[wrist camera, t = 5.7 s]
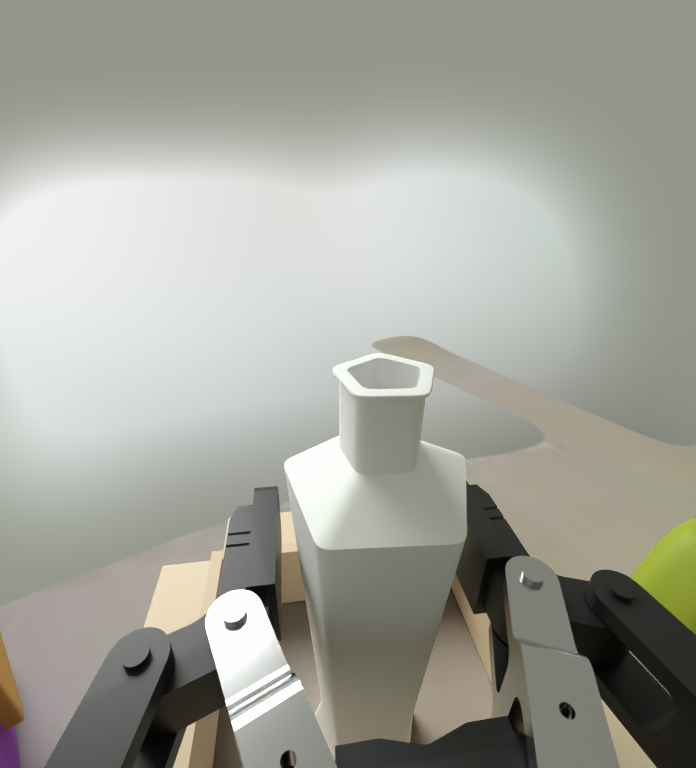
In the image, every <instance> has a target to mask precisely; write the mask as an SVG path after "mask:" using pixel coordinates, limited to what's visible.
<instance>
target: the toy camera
mask: <svg viewBox="0 0 696 768" xmlns="http://www.w3.org/2000/svg"><path fill="white" fill-rule="evenodd" d="M23 719H24V714H23V710H22V706H21V702H20V699H19V695H18V692H17V688H16V685H15V681H14V678H13V674H12V671H11V667H10V664H9V660H8V657H7V654H6V650H5V647H4V643H3V640H2V636H1V633H0V768H20V760H19V753H18V746H17V738H16V731H15V725H16V724H18V723H19V722H21V721H22V720H23Z"/></svg>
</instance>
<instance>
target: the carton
mask: <svg viewBox="0 0 696 768" xmlns="http://www.w3.org/2000/svg"><path fill="white" fill-rule="evenodd" d="M280 517H281V534H282V574H281V603H289V602H297V601H305V594H304V587H303V581H302V575H301V568H300V562H299V556H298V549H297V543H296V537H295V531H294V524H293V518H292V512H282V513H280ZM230 518H231V517H230ZM230 518H229V519H228V525H227V532H226V538H225V544H224V550H222V551H212V555H211V560H210V561H204V562H195V563H185V564H176V565H167V566H163V567H162V570H161V573H160V576H159V580H158V583H157V586H156V589H155V592H154V596H153V599H152V602H151V605H150V608H149V612H148V615H147V618H146V621H145V624H144V628H146V627H154V628H158V629H161V630H162V631H164V632H165V633H166V634H170V633H172V632H174V631H176V630H179V629H181V628H183V627H185V626H188V625H190V624H192V623H194V622H195V621H197V620H199V619H200V618H201V617H202V616H204V615H205V614H206V613H207V612H208V610H209V609H210V607H211V606H212V604H213V603H214V602H215V600H216V598H217V595H218V590H219V584H220V577H221V571H222V565H223V558H224V552H225V548H226V539H227V535H228V534H227V533H228V527H229V520H230ZM451 588H452V590H453V593H454V595H455V598H456V600H457V602H458V605H459V607H460V610H461V612H462V614H463V617H464V619H465V622H466V624H467V626H468V629H469V631H470V634H471V636H472V639H473V641H474V643H475V646H476V648H477V651H478V653H479V655H480V658H481V660H482V663H483V665H484V667H485V670H486V672H487V675H488V677H489V680H490V682H491V684H492V678H491V663H490V648H489V625H490V620H489V618H488V616H487V613H481V614H473V612H472V610H471V607H470V605H469V603H468V600H467V598H466V596H465V594H464V591H463V589H462V587H461V585H460V582H459V580H458V578H457V575H456V573H455V576H454V579H453V582H452V586H451ZM601 701H602V704H603V708H604V712H605V715H606V719H607V722H608V726H609V730H610V733H611V737H612V741H613V744H614V748H615V751H616V755H617V759H618V762H619V766H620V768H657V767H656V766H655V765H654V764H653V762H652V761H651V760H650V759H649V757H648V756H647V755H646V754H645V752H644V751H643V750H642V749H641V747H640V746H639V745H638V744H637V742H636V741H635V740H634V739H633V737H632V736H631V735H630V734H629V732H628V731H627V730H626V729H625V727H624V726H623V725H622V724H621V722H620V721H619V720H618V719H617V717H616V716H615V715H614V714H613V712H612V711H611V710H610V709H609V707H608V706H607V705H606V704H605V702H604V701H603V700H602V699H601ZM219 710H220V709H218V710H217V711H215V712H213V713H211V714H209V715H207V716H206V717H204V718H202V719H200V720H198V721H196V722H194V723H193V724H191V725H189V726H187V728H186V731H185V734H184V737H183V740H182V743H181V746H180V748H179V751H178V754H177V757H176V760H175V763H174V766H173V768H213V759H214V751H215V743H216V735H217V726H218V718H219Z"/></svg>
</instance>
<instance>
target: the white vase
mask: <svg viewBox="0 0 696 768" xmlns="http://www.w3.org/2000/svg"><path fill="white" fill-rule="evenodd" d="M333 373H334V375H335V377H336V378H337V379H338V380H339V382H340V383H339V384H340V385H339V388H340V390H339V391H340V392H339V394H340V395H339V403H340V405H339V406H340V407H339V409H340V410H339V425H340V426H339V436H337V437H335V438H333V439H331V440H328V441H326V442H324V443H322V444H319V445H317V446H315V447H313V448H311V449H308V450H306V451H304V452H302V453H300V454H298V455H295V456H293V457H291V458H289V459H288V460H286V462H285V463H284V467H285V473H286V479H287V486H288V493H289V499H290V505H291V512H292V518H293V524H294V531H295V537H296V543H297V549H298V556H299V562H300V568H301V575H302V581H303V587H304V594H305V600H306V606H307V613H308V619H309V625H310V631H311V638H312V644H313V650H314V657H315V663H316V669H317V676H318V682H319V688H320V694H321V702H320V704H319V706H318V708H317V710H316V712H315V714H314V715H315V717H316V719H317V722H318V724H319V726H320V729H321V731H322V733H323V735H324V738H325V740H326V742H327V745H328V747H329V749H330V752H331V754H332V756H333V759H334V761H335V746H337V745H343V744H349V743H354V742H360V741H366V740H371V739H377V738H382V739H388V740H395V741H401V742H408V743H410V742H411V731H412V720H413V711H414V708H415V705H416V701H417V698H418V695H419V691H420V688H421V685H422V682H423V678H424V675H425V672H426V668H427V665H428V662H429V658H430V655H431V652H432V649H433V645H434V642H435V639H436V635H437V632H438V629H439V625H440V622H441V619H442V616H443V612H444V609H445V606H446V602H447V599H448V596H449V592H450V589H451V586H452V582H453V579H454V576H455V573H456V569H457V566H458V563H459V559H460V556H461V553H462V549H463V546H464V543H465V540H466V536H467V501H466V460H465V458H464V457H463V456H462V455H461V454H458V453H456V452H454V451H451V450H448V449H445V448H442V447H439V446H436V445H433V444H430V443H427V442H424V441H421V432H422V423H423V413H424V405H425V398H426V397H428V396H429V394H430V393H431V391H432V385H433V378H434V368H433V367H432V366H431V365H429V364H425V363H422V362H418V361H414V360H409V359H405V358H401V357H397V356H393V355H388V354H383V353H375V354H371V355H367V356H364V357H361V358H358V359H355V360H352V361H349V362H345V363H342V364H339V365H337V366H335V367H334V368H333Z"/></svg>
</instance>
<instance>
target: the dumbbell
mask: <svg viewBox="0 0 696 768" xmlns="http://www.w3.org/2000/svg"><path fill="white" fill-rule="evenodd" d="M630 578H631V579H633V580H634V581H636V582H637V583H638V584H639V585H640V586H641V587H643V588H644V589H645V590H646V591H647V592H648V593H649V594H650V595H652V596H653V597H654V598H655V599H656V600H657V601H658V602H659V603H661V604H662V605H663V606H664V607H665V608H666V609H667V610H668V611H669V612H671V613H672V614H673V615H674V616H675V617H676V618H677V619H678V620H680V621H681V622H682V623H683V624H684V625H685V626H686V627H687V628H689V629H690V630H691V631H692V632H693V633H694V634H695V635H696V517H695V518H692V519H690V520H688V521H685V522H683V523H681V524H680V525H678V526H676V527H675V528H673V529H672V530H671V531H670V532H668V533H667V534H666V535H665V536H664V537H663V538H662V539H661V540H660V541H659V542H658V543H657V544H656V545H655V546H654V548H653V549H652V550H651V551H650V552H649V554H648V555H647V556H646V557H645V559H644V560H643V561H642V562H641V564H640V565H639V566H638V567H637V569H636V570H635V571H634V573H633V574H632V575H631V577H630Z"/></svg>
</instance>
